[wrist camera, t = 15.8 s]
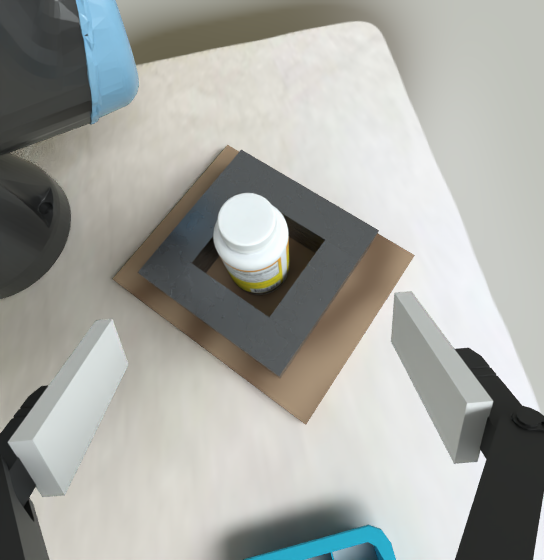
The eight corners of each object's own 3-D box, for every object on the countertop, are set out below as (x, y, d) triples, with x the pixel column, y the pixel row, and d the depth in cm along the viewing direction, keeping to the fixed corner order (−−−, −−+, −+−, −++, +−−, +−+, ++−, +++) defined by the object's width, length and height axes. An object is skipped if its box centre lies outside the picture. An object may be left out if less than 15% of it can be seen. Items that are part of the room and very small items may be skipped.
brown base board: (117, 282, 35) (112, 279, 34) (229, 151, 39) (227, 144, 38) (305, 423, 31) (305, 424, 30) (411, 259, 35) (414, 255, 34)
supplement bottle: (253, 230, 35) (238, 167, 25) (301, 260, 34) (304, 207, 24) (218, 275, 34) (188, 228, 24) (266, 308, 33) (255, 273, 23)
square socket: (154, 286, 34) (137, 272, 30) (246, 174, 37) (241, 149, 33) (280, 378, 31) (279, 376, 27) (368, 248, 34) (378, 230, 30)
